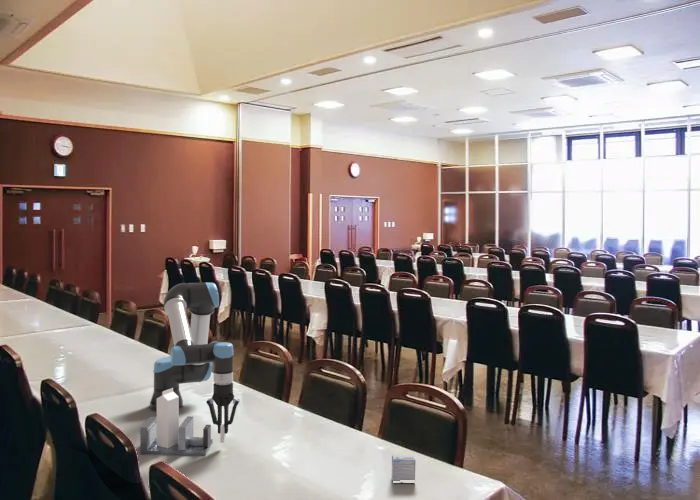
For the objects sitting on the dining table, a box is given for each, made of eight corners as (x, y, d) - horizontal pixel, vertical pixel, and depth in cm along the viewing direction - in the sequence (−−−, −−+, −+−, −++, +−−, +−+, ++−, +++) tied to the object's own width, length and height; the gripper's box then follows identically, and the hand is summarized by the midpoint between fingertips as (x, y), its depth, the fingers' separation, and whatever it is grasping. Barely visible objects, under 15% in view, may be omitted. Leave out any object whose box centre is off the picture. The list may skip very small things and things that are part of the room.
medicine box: (413, 478, 203) (413, 454, 203) (415, 484, 199) (415, 459, 198) (391, 478, 203) (391, 454, 203) (392, 484, 199) (393, 459, 198)
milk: (156, 445, 224) (155, 390, 223) (167, 440, 230) (167, 386, 228) (168, 448, 221) (167, 392, 220) (179, 443, 227) (178, 388, 226)
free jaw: (185, 438, 231) (185, 416, 231) (212, 438, 232) (212, 416, 231) (177, 450, 219) (177, 427, 219) (205, 450, 220) (205, 427, 219)
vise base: (150, 442, 231) (150, 416, 231) (212, 442, 232) (212, 417, 231) (140, 454, 219) (140, 427, 219) (205, 455, 220) (205, 428, 219)
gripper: (204, 385, 220) (204, 444, 222) (238, 385, 221) (237, 445, 222) (208, 379, 228) (208, 437, 229) (241, 380, 228) (241, 437, 230)
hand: (222, 441), depth 226 cm, fingers closed
